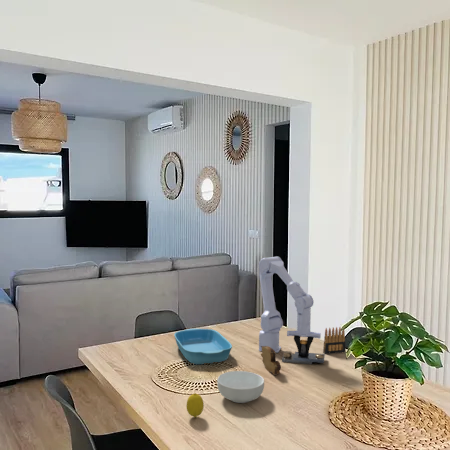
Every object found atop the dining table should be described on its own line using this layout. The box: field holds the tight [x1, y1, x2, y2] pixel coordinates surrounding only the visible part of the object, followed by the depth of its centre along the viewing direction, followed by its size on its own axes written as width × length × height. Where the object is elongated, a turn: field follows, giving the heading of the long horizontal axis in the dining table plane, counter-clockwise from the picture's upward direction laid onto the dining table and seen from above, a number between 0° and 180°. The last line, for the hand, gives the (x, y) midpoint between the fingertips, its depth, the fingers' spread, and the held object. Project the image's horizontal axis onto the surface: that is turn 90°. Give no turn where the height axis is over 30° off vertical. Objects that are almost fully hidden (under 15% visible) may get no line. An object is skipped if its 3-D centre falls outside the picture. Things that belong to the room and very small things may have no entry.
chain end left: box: [281, 350, 313, 365], centre depth 200 cm, size 13×8×3 cm, turn 75°
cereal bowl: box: [216, 370, 265, 404], centre depth 160 cm, size 17×17×7 cm
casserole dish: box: [173, 327, 233, 365], centre depth 208 cm, size 37×22×7 cm, turn 19°
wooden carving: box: [260, 346, 282, 376], centre depth 187 cm, size 16×5×10 cm, turn 21°
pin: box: [300, 339, 307, 357], centre depth 199 cm, size 3×3×8 cm
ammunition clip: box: [322, 326, 347, 355], centre depth 210 cm, size 11×2×12 cm, turn 105°
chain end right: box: [293, 351, 326, 365], centre depth 198 cm, size 13×8×3 cm, turn 75°
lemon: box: [186, 392, 204, 419], centre depth 146 cm, size 6×6×8 cm
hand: (303, 353), depth 199 cm, fingers closed on pin, 3 cm apart
